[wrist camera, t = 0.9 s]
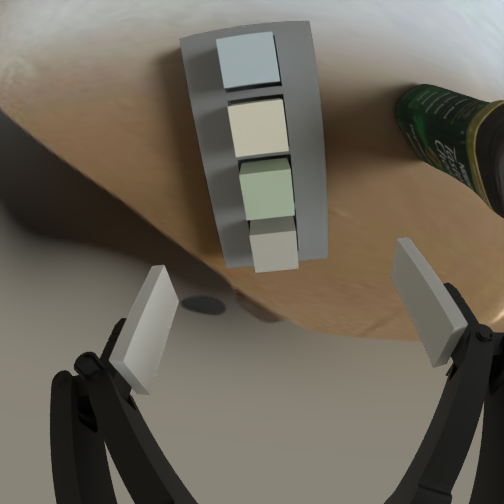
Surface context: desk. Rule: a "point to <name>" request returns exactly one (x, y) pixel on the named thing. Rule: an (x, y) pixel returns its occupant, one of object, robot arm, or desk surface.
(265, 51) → the key blue
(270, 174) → the key sage
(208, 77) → the keypad
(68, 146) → the desk surface
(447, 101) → the coffee jar
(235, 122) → the key cream
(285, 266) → the key grey
